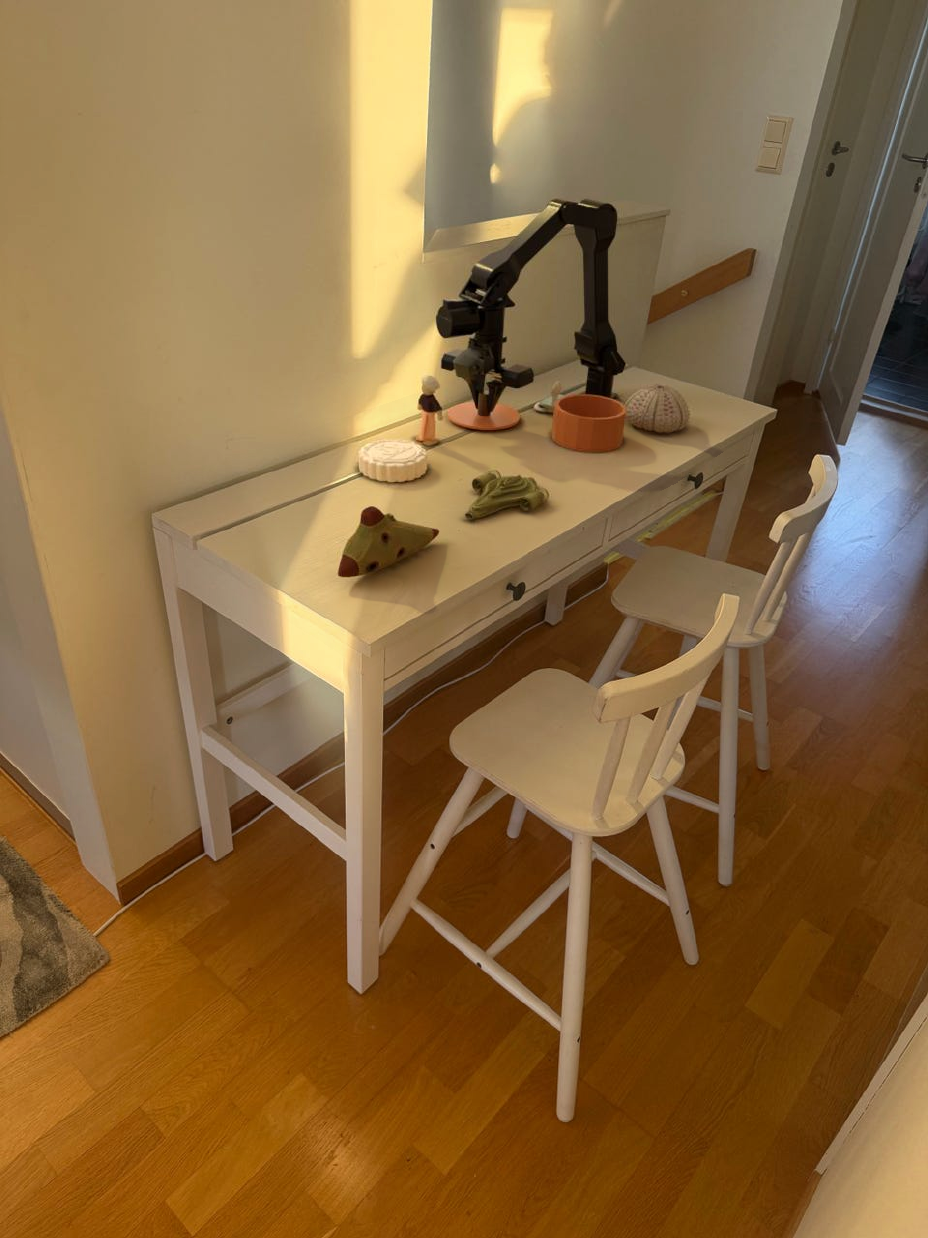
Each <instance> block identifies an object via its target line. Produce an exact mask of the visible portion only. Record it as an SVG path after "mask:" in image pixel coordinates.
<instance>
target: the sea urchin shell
mask: <svg viewBox="0 0 928 1238" xmlns="http://www.w3.org/2000/svg"><path fill="white" fill-rule="evenodd" d="M623 405H624V406H625V407H626V408H627V411H626V418H625V419H626V421H627V422H630V424H631V425H634V426H635V427H636V428H638V429H644V430H645V431H648V432H649V431H650V432H652V431H654V432H656V433H661V434H662V433H664V434H667V433H668V434H669V433H670V434H671V433H672V432H678V431H681V430H682V429H683V428H685V426H687V424H688V423H689V420H690V418H691V417H690V416H691V413H690V412H691V411H690V410H689V406H688V405H687V401H686V400H685V398H684V396H683V395H682V394H681V393H680V392H679V391H678V390H677V389H676V388H674V387H673V386H671V385H667V384H666V385H665V384H660V383H653V384H651V385H646V386H645V387H642V388H640V389H637V391H636V392H632V395H631V396H629V398H628V399H627V400H626V402H625V403H623Z"/></svg>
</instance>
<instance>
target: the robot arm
mask: <svg viewBox="0 0 928 1238" xmlns="http://www.w3.org/2000/svg"><path fill="white" fill-rule="evenodd" d="M568 225H571V226H573V229H574V236H575V238H576V240H577V242H578V243H579V246H580V247H581V250H582V271H583V272H582V279H583V315H584V317H583V319H584V320H583V323H582V326H581V327H580V329H579V330H575V331H574V334H573V335H574V347H573V349H574V350H575V351H576V354H577V356H578V357H579V361H580V362H579V363H580V365H581V366H584V367H587V375H586V383H585V389H584V390H585V391H583V392H580V393H579V394H589V395H598V396H604V397H607V398H611V399H615V398H617V397H618V395H619V394H618V393H616V392H613V387H614V379H615V377H616V376H618V375H619V374H623V373H624V369H625V367H626V365H627V362H626V361H625V359H624V358H623V357H622V356H621V355H620V353H619V351H618V343H617V336H616V333H615V331H614V329H613V328H612V325H611V323H610V320H609V248H610V247H611V244H612V243H613V241H614V239H615V237H616V233H617V225H618V211H617V208H616V207H615V206H614V205H613V204H611V203H609V202H605V201H602V200H601V201H600V200H596V199H592V198H584V199H582V200H580V201H579V202H575V201H570V200H565V199H562V198H554V199H551V200H550V201H549V202H548V203H547V205H546V207H545V208H544V209H543V210H542V211H541V212H540V213H539V214H538V215H536V217H535V218H534V219H533V220H532V221H530V222H529V224H527V226H525V227H524V229H522V230H521V231H520V232H519V233H518V234H517V235H516V236H515V237H514V238H513V239H512V240H511V241H510V242H509V243H508V244H507V245H505V246H504V247H502V248H501V249H498V250H496V251H494V252H491V253H489V254H487V255H486V256H484V257H483V258H482V259H480V260H478V261H477V262H476V263H475V264H474V266H472V269H471V274H470V276H469V277H468V279H467V281H466V282H465V284H464V285H463V287H462V289H461V291H460V292H459V293H458V298H443V300H442V306H440V307H439V308H438V311H437V314H436V315H435V325H436V329H437V332H438V334H439V335H440V337H441V338H443V339H451V338H460V337H466V336H467V337H468V336H470V337H469V339H468V341H467V342H468V344H467V347H466V349H464V350H462V349H459V348H456V349H453V350H451V351H447V352H445V353H443V354H442V356H441V358H440V369H442V370H445V371H449V372H455V377H457V378H461V379H462V380H463V381H465V382H466V383H467V385H468V388H469V391H470V393H471V397H472V399H473V402H474V404H475V407H476V409H478V394H479V391H481V390H485V384H486V386H487V388H488V391H489V396H488V413H491V412H492V411H493V410H494V408H495V406H496V404H497V403H499V400H500V398H501V396H502V394H503V392H504V391H505V389H506V388H507V387H508V388H511V389H520V388H523V387H525V386H528V385H530V384H533V383H534V377H535V372H534V370H533V369H532V367H529V366H525V365H523V364H522V365H521V364H518V363H516V364H512V365H511V366H508V367H505V366H502V365H504V364H506V357H504V356H503V345H504V344H505V343H507V340H508V336H505V335H504V332H505V331H504V329H505V317H506V315H505V314H506V309H508V308H514V307H515V306H516V303H515V302H514V301H513V300H512V299H511V298H510V296H509V293H510V292H511V290H512V289H513V288H514V286H515V285H516V284H517V283H518V282H519V280H520V277H521V273H522V270H523V269H524V268H525V266H526V265H527V264H528V263H529V262H530V261H531V260H532V259H533V258H534V257H535V256H537V254H538V253H539V252H540V251H542V250H543V248H545V247H546V246H547V245H548V244H549V243H550V241H552V240H553V239H554V238H555V237H556V236H557V235H558V234H559V233H560V232H561V231H562V230H563V229H564V228H565V227H567V226H568ZM477 292H479V293H477ZM480 293H481V294H480ZM483 294H484V295H483ZM472 335H473V336H472ZM488 374H489V375H491V376H492V378H491V379H490V380H488V381H486V377H487V375H488Z"/></svg>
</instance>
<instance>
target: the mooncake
mask: <svg viewBox="0 0 928 1238" xmlns="http://www.w3.org/2000/svg"><path fill="white" fill-rule="evenodd" d="M358 467H359V471H360V472H361V474H362V475H363V476H365V477H368V478H369V479H371V480H377V481H378V482H388V483H396V482H398V483H403V482H405V481H409V482H410V481H413V480H415V479H419V478H421V476H422V475H425V474H426V471H427V470H428V453H427V449H425V448H423V446H421V445H420V444H417V443H415V442H413V441H407V440H405V439H380V440H373V441H372V442H369V443H367V444H365V446H364V445H363V446H362V447H361V448H360V450H359V451H358Z"/></svg>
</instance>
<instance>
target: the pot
mask: <svg viewBox="0 0 928 1238" xmlns="http://www.w3.org/2000/svg"><path fill="white" fill-rule="evenodd" d="M626 411H627V408H626V407H625V406H624V403H623V402H621V401H618V400H617V399H615V398H613V399H611V398H607V397H604V396H598V395H589V394H580V393H578V394H576V393H575V394H568V395H564V396H563V397H561V398H559V399H557V400H556V402H555V404H554V413H552V414H553V415H552V425H551V432H550V434H551V438H552V440H553V442H554V443H556V444H557V445H559V446H561V447H564V448H566V449H569V450H573V451H578V452H584V453H585V452H586V453H602V452H603V453H604V452H609V451H613V450H616V449H617V448H619V447H620V446H621V445H622V443H623V438H624V437H623V436H624V430H625V424H626V419H627V418H626Z"/></svg>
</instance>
